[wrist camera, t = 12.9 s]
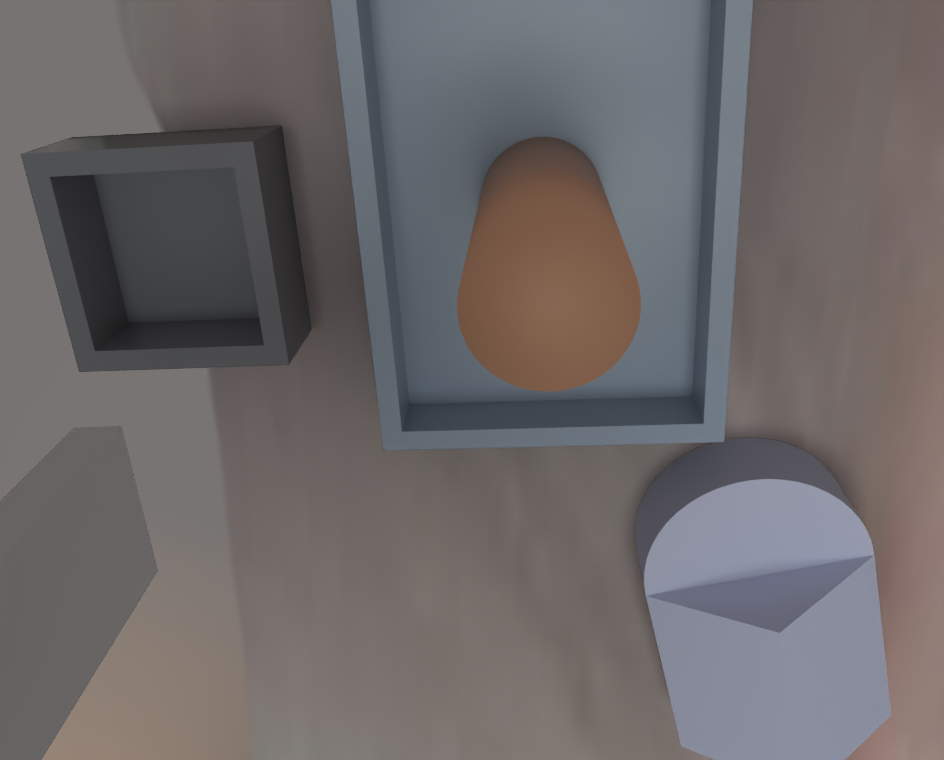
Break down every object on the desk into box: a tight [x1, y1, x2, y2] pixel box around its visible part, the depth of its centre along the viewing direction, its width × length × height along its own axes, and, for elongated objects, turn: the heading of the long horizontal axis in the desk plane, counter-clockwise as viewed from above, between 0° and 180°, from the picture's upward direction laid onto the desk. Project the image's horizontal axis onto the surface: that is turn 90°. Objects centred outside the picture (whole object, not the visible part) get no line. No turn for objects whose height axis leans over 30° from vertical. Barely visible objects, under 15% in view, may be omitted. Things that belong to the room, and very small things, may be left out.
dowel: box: [457, 137, 641, 392], centre depth 26 cm, size 4×4×12 cm
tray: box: [331, 0, 753, 451], centre depth 31 cm, size 13×18×3 cm
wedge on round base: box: [635, 438, 891, 760], centre depth 35 cm, size 9×7×13 cm
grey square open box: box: [21, 126, 311, 372], centre depth 32 cm, size 8×8×4 cm
